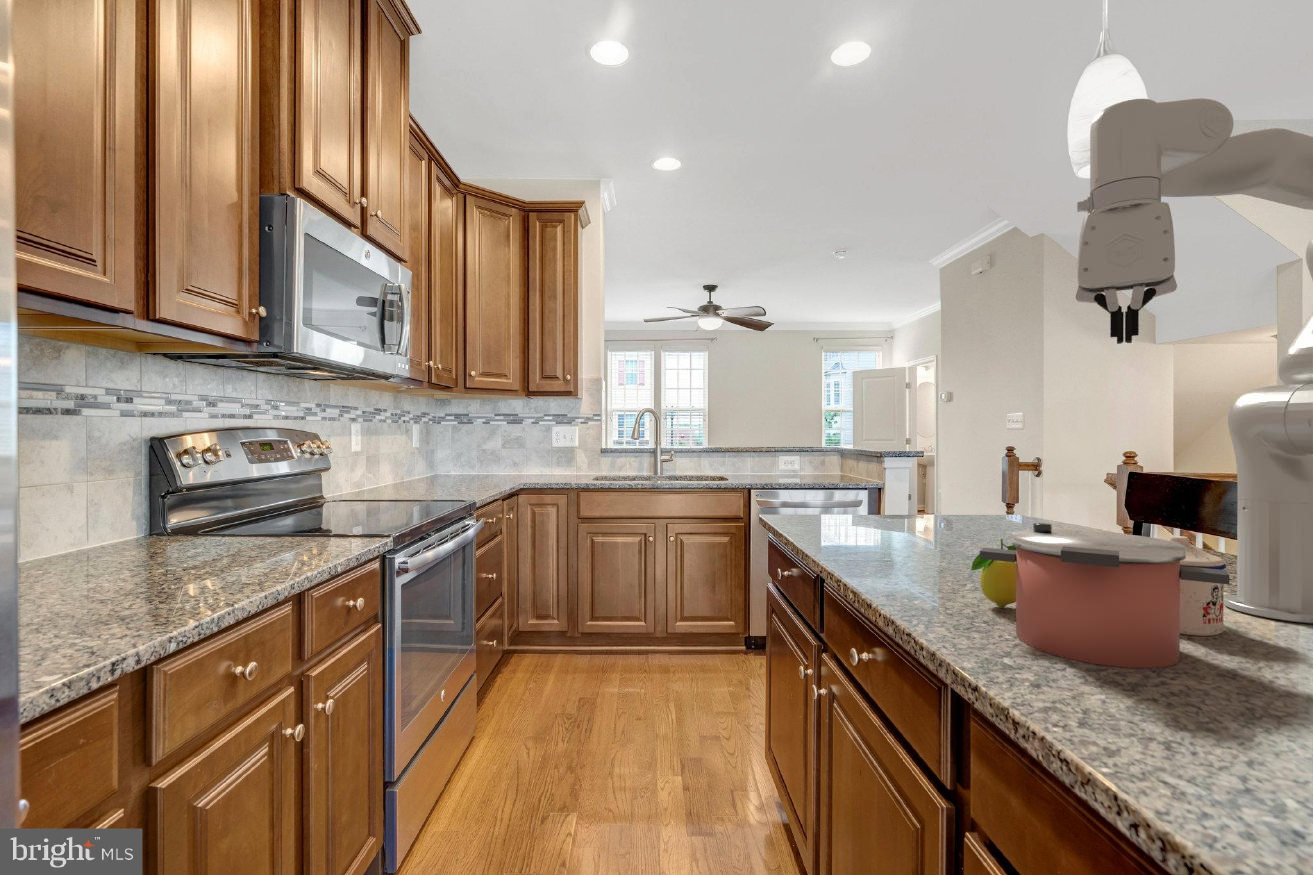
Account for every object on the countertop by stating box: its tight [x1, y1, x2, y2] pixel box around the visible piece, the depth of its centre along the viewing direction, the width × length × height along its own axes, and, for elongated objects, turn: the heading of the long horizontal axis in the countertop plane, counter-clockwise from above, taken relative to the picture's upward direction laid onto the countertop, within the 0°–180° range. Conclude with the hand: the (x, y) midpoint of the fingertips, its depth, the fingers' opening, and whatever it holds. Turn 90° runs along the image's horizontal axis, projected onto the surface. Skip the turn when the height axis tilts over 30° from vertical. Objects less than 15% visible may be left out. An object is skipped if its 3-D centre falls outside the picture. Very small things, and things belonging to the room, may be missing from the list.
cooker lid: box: [1011, 522, 1186, 567], centre depth 74 cm, size 21×17×2 cm
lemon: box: [970, 538, 1016, 609], centre depth 91 cm, size 7×6×10 cm
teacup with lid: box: [1168, 535, 1227, 637], centre depth 83 cm, size 12×9×12 cm
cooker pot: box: [979, 547, 1230, 669], centre depth 76 cm, size 17×24×11 cm
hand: (1124, 342), depth 84 cm, fingers closed
